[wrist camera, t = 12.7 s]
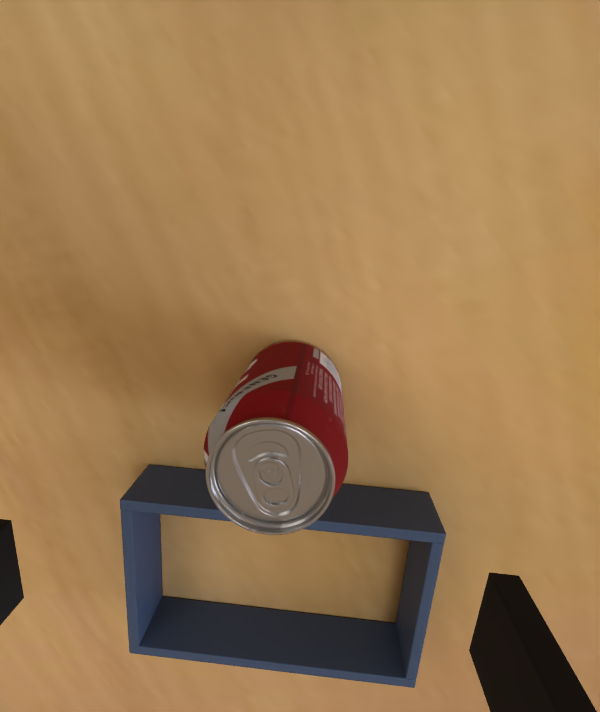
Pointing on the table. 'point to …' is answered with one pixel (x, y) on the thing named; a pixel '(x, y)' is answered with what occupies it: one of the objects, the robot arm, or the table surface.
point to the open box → (270, 626)
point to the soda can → (279, 441)
